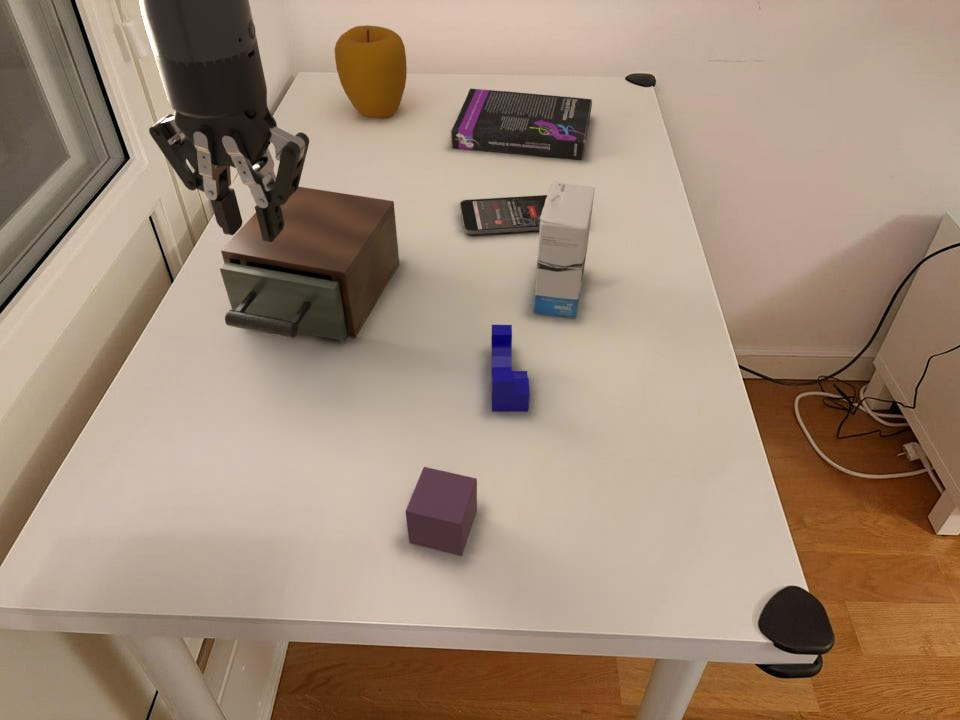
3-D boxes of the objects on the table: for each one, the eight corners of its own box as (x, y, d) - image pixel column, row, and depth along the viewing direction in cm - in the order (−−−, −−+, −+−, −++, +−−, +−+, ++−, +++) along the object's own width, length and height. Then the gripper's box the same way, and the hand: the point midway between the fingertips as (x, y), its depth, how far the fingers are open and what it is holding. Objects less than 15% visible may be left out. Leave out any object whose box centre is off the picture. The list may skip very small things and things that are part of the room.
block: (462, 556, 58) (461, 524, 55) (408, 543, 59) (404, 511, 56) (477, 510, 61) (477, 478, 58) (426, 498, 62) (423, 466, 59)
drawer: (323, 372, 72) (312, 320, 67) (211, 349, 74) (193, 297, 69) (386, 270, 84) (380, 220, 79) (287, 253, 86) (276, 204, 81)
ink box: (576, 320, 79) (588, 228, 71) (531, 314, 79) (538, 222, 71) (584, 274, 85) (596, 184, 77) (542, 268, 85) (549, 179, 77)
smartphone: (584, 223, 91) (465, 231, 90) (583, 228, 91) (465, 236, 90) (572, 193, 96) (459, 200, 95) (571, 198, 97) (459, 204, 95)
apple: (332, 105, 117) (319, 22, 108) (393, 92, 121) (387, 10, 112) (356, 133, 110) (345, 47, 101) (421, 118, 114) (416, 34, 105)
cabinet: (355, 338, 77) (345, 272, 71) (239, 315, 79) (220, 250, 73) (399, 264, 86) (394, 200, 80) (295, 246, 89) (281, 183, 83)
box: (451, 151, 107) (583, 161, 104) (449, 129, 104) (585, 139, 101) (470, 109, 117) (592, 117, 114) (469, 87, 114) (594, 95, 111)
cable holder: (528, 411, 69) (530, 382, 66) (491, 411, 69) (492, 382, 66) (524, 354, 75) (526, 324, 72) (491, 353, 75) (491, 324, 72)
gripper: (89, 46, 53) (161, 244, 64) (266, 68, 50) (306, 270, 62) (150, 12, 58) (206, 201, 70) (312, 30, 55) (341, 223, 67)
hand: (253, 232), depth 66 cm, fingers open, 3 cm apart
